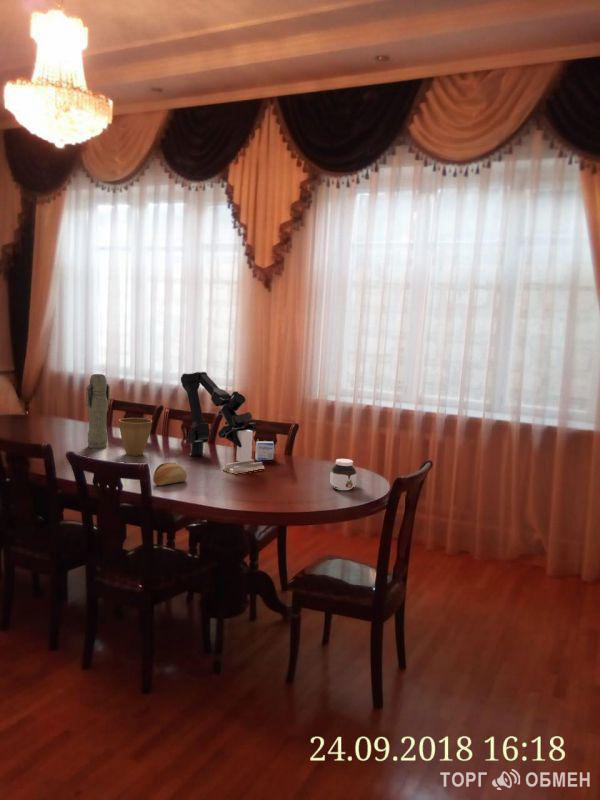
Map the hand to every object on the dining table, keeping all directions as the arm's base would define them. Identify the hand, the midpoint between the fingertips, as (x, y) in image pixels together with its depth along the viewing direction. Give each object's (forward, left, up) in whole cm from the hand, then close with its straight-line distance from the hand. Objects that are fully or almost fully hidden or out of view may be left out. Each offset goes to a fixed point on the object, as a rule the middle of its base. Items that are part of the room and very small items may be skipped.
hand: (246, 446), depth 270 cm
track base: (-1, -1, -11) cm, 11 cm away
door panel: (-1, -1, -7) cm, 7 cm away
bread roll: (+26, -27, -11) cm, 40 cm away
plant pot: (-19, -53, -11) cm, 58 cm away
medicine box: (-22, +7, -11) cm, 25 cm away
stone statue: (-29, -74, -11) cm, 81 cm away
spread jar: (+18, +42, -11) cm, 47 cm away
